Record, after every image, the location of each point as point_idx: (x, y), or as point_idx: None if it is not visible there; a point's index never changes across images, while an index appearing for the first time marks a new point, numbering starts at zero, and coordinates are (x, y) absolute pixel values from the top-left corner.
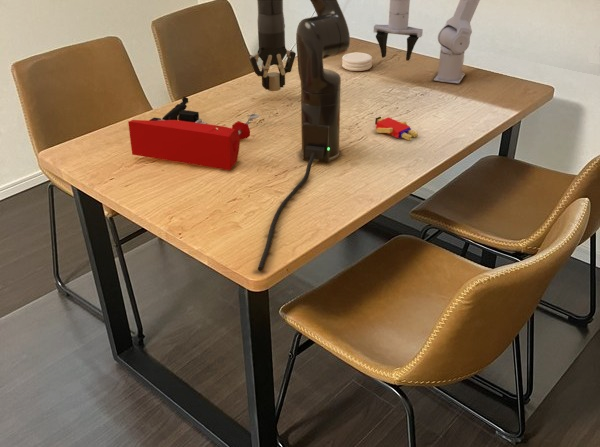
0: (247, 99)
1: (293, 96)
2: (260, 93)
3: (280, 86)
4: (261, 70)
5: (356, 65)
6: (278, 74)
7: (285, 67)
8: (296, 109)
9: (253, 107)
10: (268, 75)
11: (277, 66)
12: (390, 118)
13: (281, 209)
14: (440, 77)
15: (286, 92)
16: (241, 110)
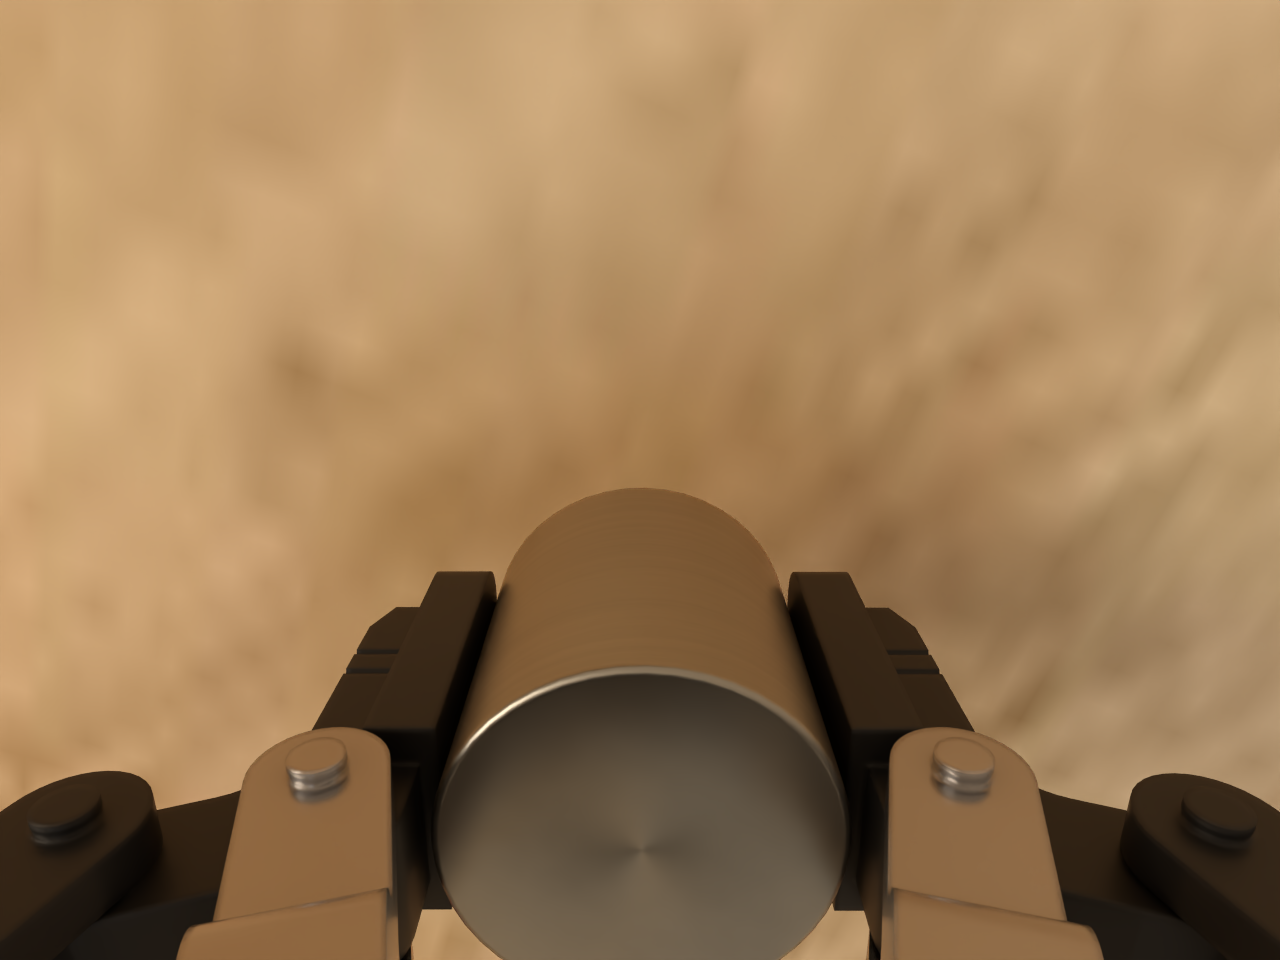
0: (182, 365)
1: (994, 517)
2: (477, 143)
3: None
4: (229, 856)
5: None
6: (786, 904)
7: (1152, 943)
8: (810, 951)
9: (244, 715)
10: (478, 884)
11: (887, 906)
12: None
13: None
14: None
15: (971, 285)
16: (53, 756)
